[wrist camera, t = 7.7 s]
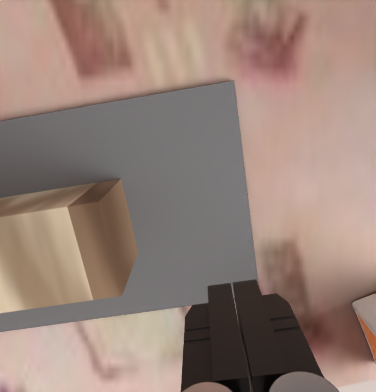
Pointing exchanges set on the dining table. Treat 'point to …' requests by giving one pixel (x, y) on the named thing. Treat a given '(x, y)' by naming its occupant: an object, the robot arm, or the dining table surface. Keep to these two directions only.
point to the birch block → (65, 246)
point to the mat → (145, 192)
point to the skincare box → (367, 319)
